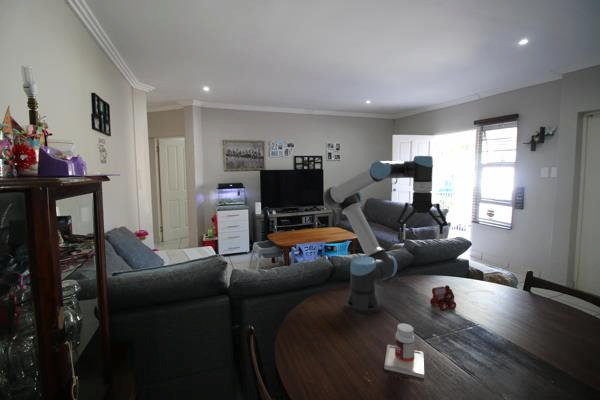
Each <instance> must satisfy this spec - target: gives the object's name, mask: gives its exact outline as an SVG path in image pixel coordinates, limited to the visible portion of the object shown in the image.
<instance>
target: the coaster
mask: <svg viewBox="0 0 600 400" xmlns="http://www.w3.org/2000/svg"><path fill="white" fill-rule="evenodd" d="M386 346H387V347H386V353H385V360H384V367H383V368H384V370H387V371H391V372H397V373H400V374H405V375H409V376H413V377H418V378H421V379H425V365H424V364H425V363H424V360H425V359H424V351H420V350H416V349H414V361H413V363H411V364H404V363H401V362H399V361H398V360H397V359H396V358H395V345H392V344H387V345H386Z"/></svg>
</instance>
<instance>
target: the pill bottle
mask: <svg viewBox="0 0 600 400" xmlns="http://www.w3.org/2000/svg"><path fill="white" fill-rule="evenodd" d="M396 328H397V329H396V331H397V332H396V333H395V336H394V337H395V342H394V344H395V345H394V346H395V358H396V359H397V360H398V361H399V362H401V363H404V364H411V363H413V361H414V350H416V349H415V346H416V343H415V342H416V339H415V336H414V334H415V333H414V327H413V326H412V325H410V324H407V323H399V324H397V327H396Z"/></svg>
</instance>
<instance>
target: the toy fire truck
mask: <svg viewBox="0 0 600 400" xmlns="http://www.w3.org/2000/svg"><path fill="white" fill-rule="evenodd" d="M431 293H432V298H430V300H429V304H430V305H431V306H432V307H438V309H439V311H441V312H446V311H447V310H448V309H450V310H455V309H456V308H457V302H456V301H455V294H454V292H453V290H452V289H451V288H450V286H449V285H446V284H445V286H444V285H443V286H442V285H441V286H437V287H433V288H432V290H431Z"/></svg>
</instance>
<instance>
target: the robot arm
mask: <svg viewBox="0 0 600 400" xmlns="http://www.w3.org/2000/svg"><path fill="white" fill-rule="evenodd" d="M433 158H434V157H433V156H432V155H415V156H414V157H413V160H407V161H406V160H402V161H401V160H400V161H399V160H376V161H374V162H373V163H372V164H371V165H370V167H369V168H367V169H366V170H364V171H362V172H360V173H358V174H356V175H355V176H353V177H351V178H349V179H347V180H345V181H344V182H342V183H340V184H338V185H337V184H333V185H332V186H330V187H329V188H328V189H326V190H325V191H324V193H323V196H322V197H323V202H324V204H325V205H326V206H327V207H328V208H330V209H334V210H335V209H339V210H340V211H341V214H342V215H345V216H346V218H347V219H348V222H349V223H350V225H351V228H352V230H353V233H354V234H355V236H356V238H357V240H358V242H359V244H360V247H361V249H362V251H363V252H364V256H358V257H355V258H353V259H352V260H351V261H350V267H349V275H350V277H349V278H350V282H349V283H350V291H349V294H348V296H347V299H346V308H347V307H348V308H349V309H350V310H349V309H348V308H347V309H348V310H349V311H351V312H353V311H354V312H353V313H355V312H356V313H355V314H359V313H360V314H359V315H372V314H374V313H377V312H378V311H379V308H380V307H379V306H380V305H379V304H380V303H379V300H378V296H377V294H376V283H380V282H382V281H384V280H388V279H390V278H392V277H394V276H395V275H396V274H397V269H398V262H397V260H396V258H395V257H394V256H393V255H391V254H390V253H387V251H386V249H385V248H383V247H381V246H380V244H379V242H378V240H377V238H376V236H375V234H374V232H373V230H372V229H371V226H370V224H369V223H368V221H367V218H366V216H365V215H364V212H363V211H362V209H361V207H362V193H361V192H362V191H363V190H366V189H368V188H369V187H372V186H374V185H376V184H378V183H380V182H383V181H384V180H386V179H412V190H413V192H412V202H407V201H406V202H405V203H404V208H403V210H401V213H400V214H399V216H398V218H397V220H396V223H397V224H399V225H400V232H401V233H403V237H402V238H403V240H404V241H405V240H406V228H407V227H406V225H407V224H406V222H407V221H408V220H409V219H410V218H412V216H414V214H415V213H416V214H427V213H428V214H429V215H430V217H431V218H432V219H433V220H434V221H435V222H436V224H437V228H436V243H440V236H441V235H443V232H444V230H443V228H444V227H446V226H448V225H449V224H448V222H447V220H446V218H445V216H444V213H443V212H442V210H441V207H440V206H441V205H440V203H439V202H437V203H433V200H432V199H433V198H432V197H433V193H432V192H433V191H432V190H433V168H434V165H433V164H434V163H433V162H434V161H433ZM410 207H411V208H412V210H411V211H410V212H409V213H408V214H407V215H406V216H405V217H404V215H405V213H406V212H407V210H408V209H409V208H410ZM432 208H434V209H436V211H437V212H438V214H439V217H440V218H441V220H440V219H438V216H436V215H435V214H434V212H432V211H431V210H432ZM403 217H404V218H403ZM402 219H403V220H402ZM441 221H442V222H441Z"/></svg>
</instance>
